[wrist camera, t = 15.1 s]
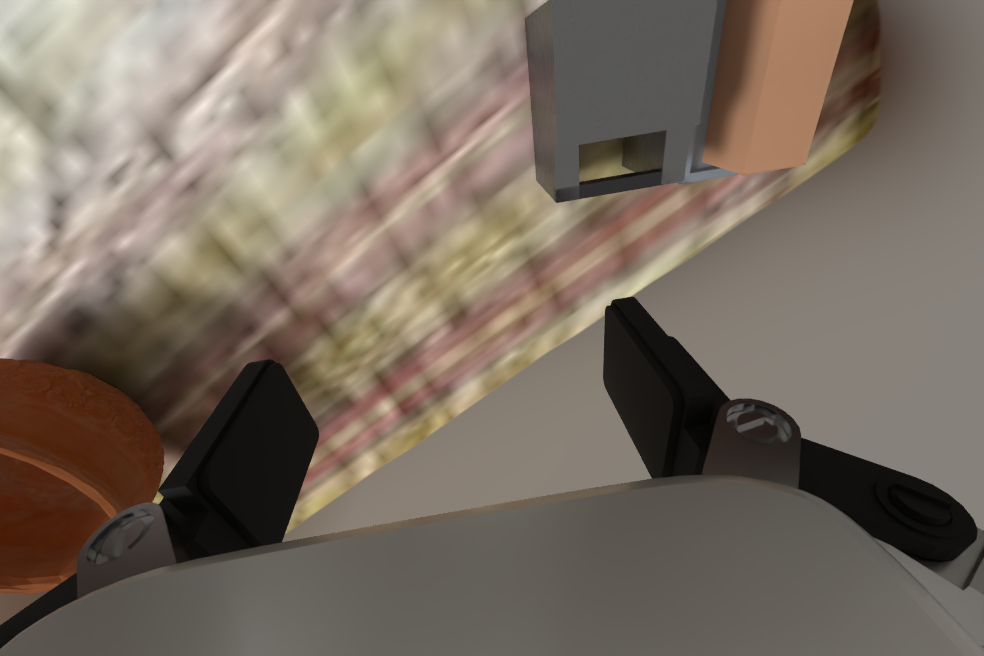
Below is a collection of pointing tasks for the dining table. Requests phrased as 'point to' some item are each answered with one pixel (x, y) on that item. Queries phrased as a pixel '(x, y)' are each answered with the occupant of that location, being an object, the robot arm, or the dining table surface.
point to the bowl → (65, 468)
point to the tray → (706, 114)
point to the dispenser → (616, 88)
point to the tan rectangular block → (771, 81)
